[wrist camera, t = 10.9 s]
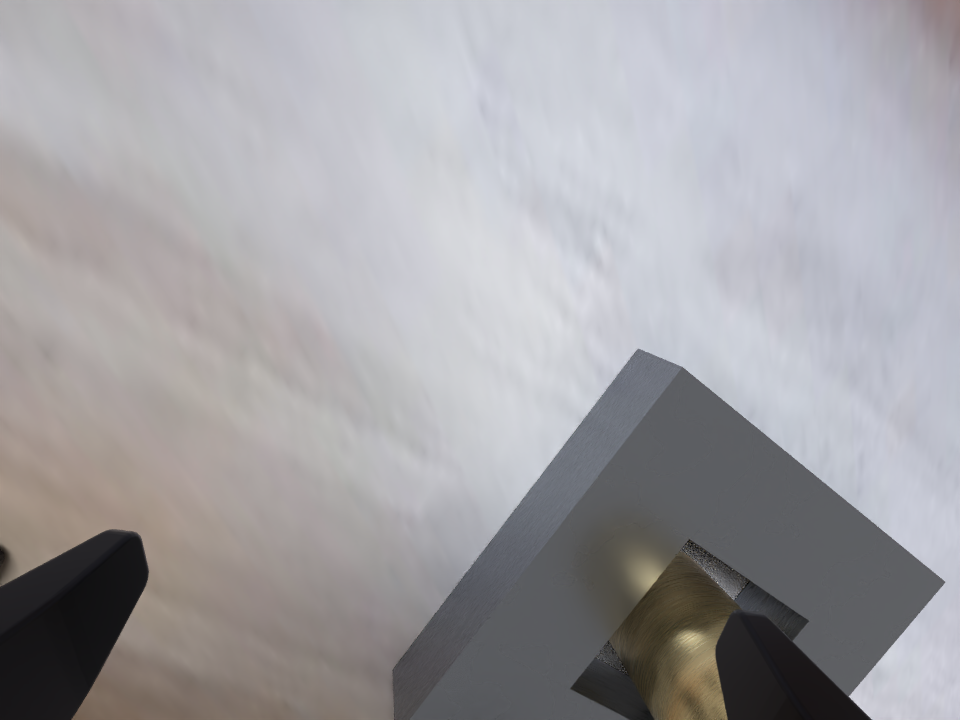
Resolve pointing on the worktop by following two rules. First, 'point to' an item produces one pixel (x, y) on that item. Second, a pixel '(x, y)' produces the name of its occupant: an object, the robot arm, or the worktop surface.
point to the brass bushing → (677, 643)
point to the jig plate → (654, 560)
